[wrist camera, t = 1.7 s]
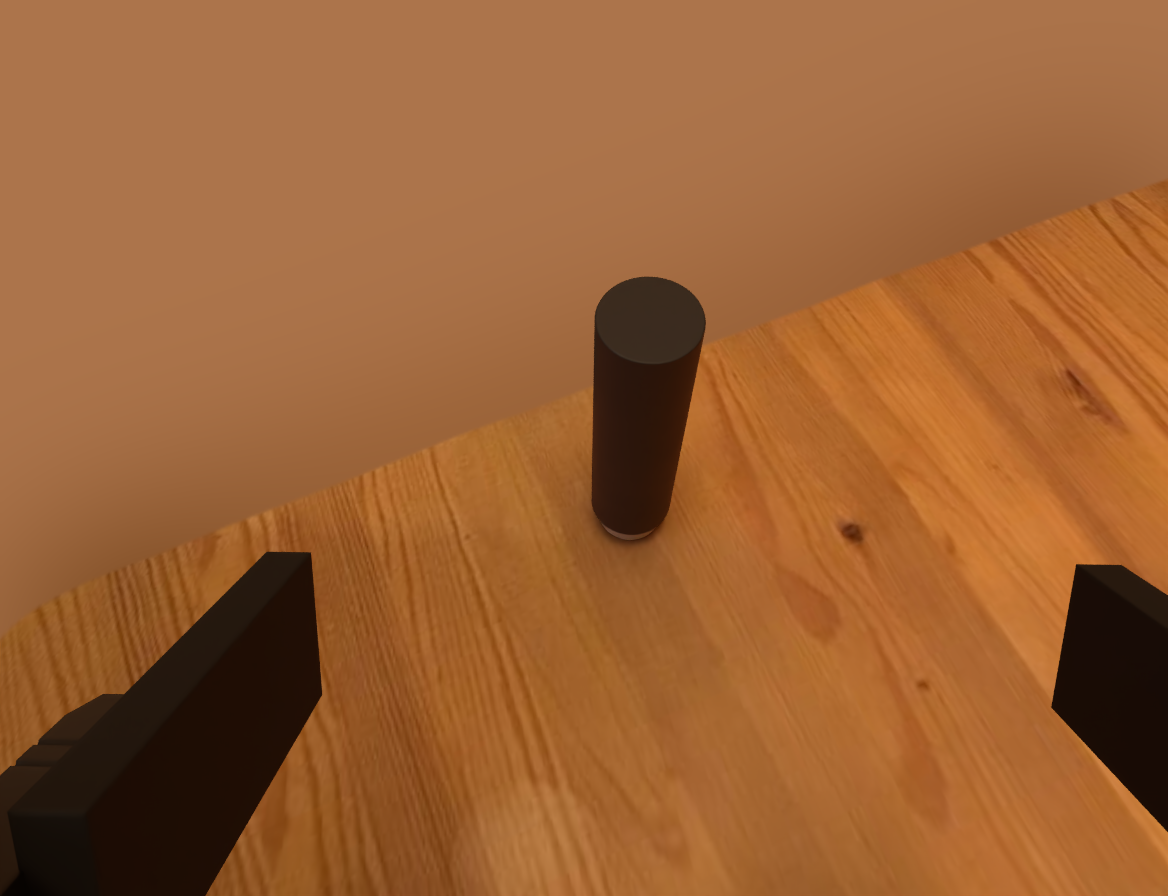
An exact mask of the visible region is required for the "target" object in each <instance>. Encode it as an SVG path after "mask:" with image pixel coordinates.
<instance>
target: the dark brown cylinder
mask: <svg viewBox="0 0 1168 896" xmlns="http://www.w3.org/2000/svg"><path fill="white" fill-rule="evenodd" d="M705 325H706V320H705V314H704V311H703V308H702V307H701V305H700V303H699V301H698V300H697V298H696V297H695V296H694V295H693V294H692V293H691V292H690V291H689V290H687V289H686V288H685V287H683V286H681V285H679V284H678V283H675V282H673V281H670V280H667V279H663V278H658V277H639V278H633V279H629V280H626V281H624V282H621V283H619V284H617V285H616V286H614V287H613V288H611V289H610V290H609V291H608V292H607V293H606V294H605V295H604V296H603V297H602V299H601V300H600V302H599V304H598V306H597V309H596V312H595V335H594V338H595V339H594V391H593V448H592V506H593V510H594V512H595V514H596V516H597V518H598V519H599V520H600V521H601V523H602V525H603V527H604V528H605V529H606V530H607V531H608V532H609V533H611V534H612V535H614V536H616V537H618V538H621V539H626V540H635V539H640V538H642V537H645V536H647V535H648V534H650V533H651V532H652V531H653V530H654V529H655V528H656V527H657V526H658V525H659V524H660V523H661V522H662V521H663V520H664V518H665V517H666V515H667V513H668V510H669V506H670V501H671V496H672V491H673V486H674V481H675V476H676V471H677V466H678V461H679V456H680V451H681V446H682V441H683V436H684V431H685V427H686V422H687V417H688V412H689V407H690V402H691V397H692V392H693V387H694V382H695V377H696V372H697V367H698V362H699V357H700V352H701V347H702V342H703V337H704V332H705Z"/></svg>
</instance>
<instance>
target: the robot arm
mask: <svg viewBox="0 0 1168 896" xmlns="http://www.w3.org/2000/svg"><path fill="white" fill-rule="evenodd" d="M321 696H322V686H321V673H320V661H319V648H318V635H317V623H316V610H315V598H314V585H313V572H312V560H311V553H309V552H266V553H265V554H264V555H263V556H262V557H261V558H260V559H259V560H258V561H257V562H256V563H255V564H254V565H253V566H252V567H251V568H250V569H249V570H248V571H247V572H246V573H245V574H244V575H243V576H242V577H241V578H240V579H239V580H238V581H237V582H236V583H235V584H234V585H233V586H232V587H231V588H230V589H229V590H228V591H227V592H226V593H225V594H224V595H223V596H222V597H221V598H220V599H219V600H218V601H217V602H216V603H215V604H214V605H213V606H212V607H211V608H210V609H209V610H208V611H207V612H206V613H205V614H204V615H203V616H202V617H201V618H200V619H199V620H198V621H197V622H196V623H195V624H194V625H193V626H192V627H191V628H190V629H189V630H188V631H187V632H186V633H185V634H184V635H183V636H182V637H181V638H180V639H179V640H178V641H177V642H176V643H175V644H174V645H173V646H172V647H171V648H170V649H169V650H168V651H167V652H166V653H165V654H164V655H163V656H162V657H161V658H160V659H159V660H158V661H157V662H156V663H155V664H154V665H153V666H152V667H151V668H150V669H149V670H148V671H147V672H146V673H145V674H144V675H143V676H142V677H141V678H140V679H139V680H138V681H137V682H136V683H135V684H134V685H133V686H132V687H131V688H130V689H129V690H128V691H127V692H126V693H125V694H102V695H101V696H99V697H97V698H95V699H93V700H92V701H90V702H88V703H86V704H84V705H83V706H81V707H79V708H77V709H75V710H74V711H72V712H70V713H68V714H66V715H65V716H64V717H63V718H62V719H61V720H60V721H58V722H57V723H56V724H55V725H54V726H53V727H52V728H51V729H50V730H49V731H48V732H47V733H46V734H44V735H43V736H42V737H41V738H40V739H39V742H38V745H33V746H32V747H30V748H29V749H28V750H27V751H26V752H25V753H24V754H23V755H22V756H21V757H20V758H19V759H18V760H16V765H15V766H10V767H9V768H8V769H7V770H6V771H5V772H4V773H2V774H1V775H0V896H205V895H206V893H207V892H208V890H209V888H210V887H211V885H212V883H213V881H214V880H215V878H216V876H217V875H218V873H219V871H220V869H221V868H222V866H223V864H224V863H225V861H226V859H227V857H228V856H229V854H230V852H231V850H232V849H233V847H234V845H235V844H236V842H237V840H238V838H239V837H240V835H241V833H242V832H243V830H244V828H245V826H246V825H247V823H248V821H249V820H250V818H251V816H252V814H253V813H254V811H255V809H256V807H257V806H258V804H259V802H260V801H261V799H262V797H263V795H264V794H265V792H266V790H267V789H268V787H269V785H270V783H271V782H272V780H273V778H274V777H275V775H276V773H277V771H278V770H279V768H280V766H281V765H282V763H283V761H284V759H285V758H286V756H287V754H288V752H289V751H290V749H291V747H292V746H293V744H294V742H295V740H296V739H297V737H298V735H299V734H300V732H301V730H302V728H303V727H304V725H305V723H306V722H307V720H308V718H309V716H310V715H311V713H312V711H313V709H314V708H315V706H316V704H317V703H318V701H319V699H320V697H321ZM1051 708H1052V709H1053V710H1054V711H1055V712H1056V713H1057V714H1058V715H1059V716H1060V717H1061V718H1062V719H1063V720H1064V721H1065V723H1066V724H1067V725H1068V726H1069V727H1070V728H1071V729H1072V730H1073V731H1074V732H1075V733H1076V734H1077V735H1078V736H1079V738H1080V739H1081V740H1082V741H1083V742H1084V743H1085V744H1086V745H1087V746H1088V747H1089V748H1090V749H1091V750H1092V751H1093V753H1094V754H1095V755H1096V756H1097V757H1098V758H1099V759H1100V760H1101V761H1102V762H1103V763H1104V764H1105V765H1106V766H1107V768H1108V769H1109V770H1110V771H1111V772H1112V773H1113V774H1114V775H1115V776H1116V777H1117V778H1118V779H1119V780H1120V781H1121V783H1122V784H1123V785H1124V786H1125V787H1126V788H1127V789H1128V790H1129V791H1130V792H1131V793H1132V794H1133V795H1134V796H1135V798H1136V799H1137V800H1138V801H1139V802H1140V803H1141V804H1142V805H1143V806H1144V807H1145V808H1146V809H1147V810H1148V811H1149V813H1150V814H1151V815H1152V816H1153V817H1154V818H1155V819H1156V820H1157V821H1158V822H1159V823H1160V824H1161V825H1162V826H1163V828H1164V829H1165V830H1166V831H1167V832H1168V595H1166V594H1165V593H1163V592H1162V591H1160V590H1159V589H1157V588H1156V587H1154V586H1153V585H1151V584H1149V583H1148V582H1146V581H1145V580H1143V579H1142V578H1140V577H1139V576H1137V575H1136V574H1134V573H1133V572H1131V571H1130V570H1128V569H1127V568H1125V567H1124V566H1122V565H1082V564H1076V569H1075V575H1074V580H1073V586H1072V592H1071V597H1070V603H1069V609H1068V615H1067V620H1066V626H1065V632H1064V638H1063V643H1062V649H1061V655H1060V661H1059V666H1058V672H1057V678H1056V684H1055V689H1054V695H1053V701H1052V706H1051Z"/></svg>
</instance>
